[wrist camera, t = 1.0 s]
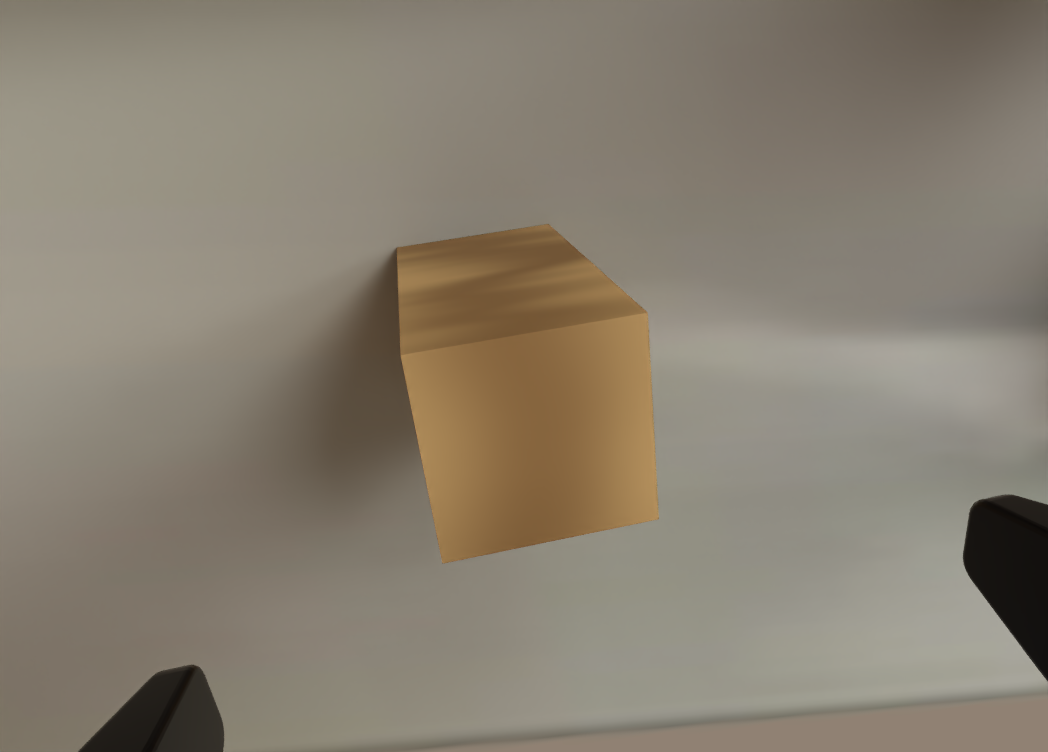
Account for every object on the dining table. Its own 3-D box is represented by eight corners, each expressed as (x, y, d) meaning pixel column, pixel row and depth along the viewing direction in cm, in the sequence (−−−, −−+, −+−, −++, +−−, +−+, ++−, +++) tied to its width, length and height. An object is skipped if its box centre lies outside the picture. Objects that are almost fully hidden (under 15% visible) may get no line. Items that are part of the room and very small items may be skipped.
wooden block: (548, 223, 19) (647, 312, 12) (563, 363, 20) (658, 518, 13) (396, 247, 18) (400, 355, 11) (423, 388, 20) (442, 563, 13)
